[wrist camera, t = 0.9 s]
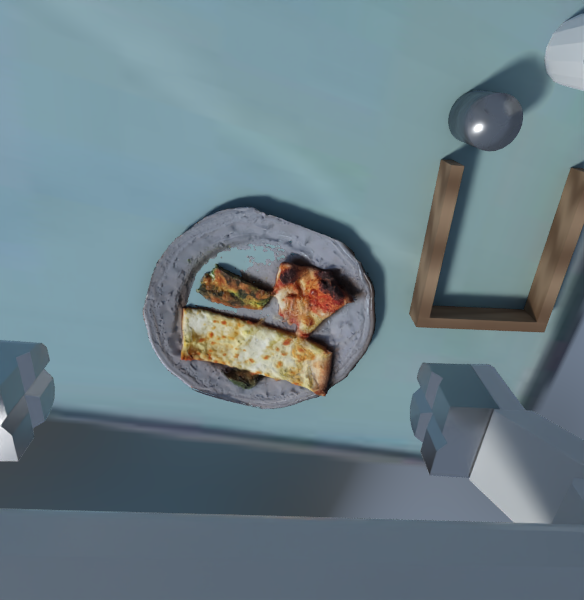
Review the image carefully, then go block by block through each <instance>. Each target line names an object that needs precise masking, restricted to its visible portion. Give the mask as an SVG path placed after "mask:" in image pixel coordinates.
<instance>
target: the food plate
mask: <svg viewBox="0 0 584 600" xmlns="http://www.w3.org/2000/svg"><path fill="white" fill-rule="evenodd" d="M256 210H258V209H256V208H253V207H237V208H234V209H233V208H230V209H226V210H221V211H218V212H216V213H214V214H212V215H209V216H206V217H205V218H203V220H201V221H199V222H197V223H196V224H194V226H193V227H192V228H191V229H189V231H186V232H185V233H184V234H182V235H180V236H179V237H177V238H175V240H174V242H172V243H171V244H170V245H169V246H168V248H167V250H166V251H165V252H164V253H163V256H162V257H161V258H160V259H159V260H158V262H157V263H156V264H157V265H156V268H155V269H154V270H153V271H154V273H153V274H152V277H151V281H150V285H149V288H148V292H147V296H146V300H145V304H144V308H143V315H144V321H145V323H146V326H147V327H146V328H147V330H148V336H149V337H148V338H149V339H150V340H149V341H150V342H151V344H152V347H153V349H154V351H155V353H156V354H157V357H158V358H159V359H160V361H161V363H162V364H163V365H164V366H165V367H166V368H167V369H168V371H170V372H171V374H174V375H175V376H176V377H178V378H179V379H180V380H182V381H183V382H184V383H185V384H186V385H188V386H189V387H192V388H194V389H198V390H199V391H197V390H195V391H197V392H200V391H202V392H200V393H202V394H205V393H207V394H205V395H209V394H211V395H209V396H212V395H214V396H212V397H215V398H219V399H223V400H226V401H231V402H234V403H239V404H243V403H244V404H243V405H247V406H249V405H250V406H251V405H253V406H252V407H256V406H258V407H260V408H261V409H267V408H268V409H274V408H282V407H287V406H291V405H294V404H297V403H299V402H302V401H304V400H308V399H312V398H317V397H319V396H320V395H322V396H325V395H326V394H327V392H328V390H329V388H331V387H332V386H334V385H335V384H336V383H338V382H340V381H342V380H343V379H345V378H346V377H347V376H348V374H349V372H350V371H352V370H353V369H354V367H355V366H356V364H357V363H358V362H359V360H360V359H361V358H362V357H363V355H364V354H365V352H366V350H367V348H368V346H369V344H370V342H371V340H372V336H373V334H374V331H375V321H376V318H375V316H376V315H375V302H374V297H375V290H374V287H373V284H372V281H371V279H370V277H369V276H368V275H365V273H366V272H365V270H364V269H363V266H362V264H361V262H359V261H357V259H356V258H355V254H354V252H353V251H352V250H351V249H349V247H347V246H346V245H345V244H343V243H342V242H341V241H339V240H338V239H336V240H335V239H332V238H331V237H329V236H326V235H324V234H321V233H318V232H315V231H313V230H311V229H308V228H305V227H303V226H300V225H298V224H294V223H291V222H288V221H286V220H284V219H282V218H280V217H275V216H272V215H266V214H265V213H264V212H262V211H261V212H259V211H260V210H258V211H256ZM337 240H338V241H337ZM289 241H292V243H290V242H289ZM248 244H252V245H255V246H263V247H264V248H269V249H270V250H272V251H274V256H275V260H274V261H273V262H271V261H270V259H266V263H267V264H266V265H264V264H263V263H256V262H252V263H254V265H253V266H252V267H249V268H247V269H248V270H247V271H245V272H244V271H243V270H240V272H241V274H242V277H240V276H239V275H236V274H234V273H232V272H230V271H228V270H225V269H224V268H222V267H219V265H218V264H215V268H213V269H212V271H211V272H210V273H205V274H204V276H203V277H202V279H201V284H202V285H200V288H199V289H196V292H197V293H200V294H202V295H203V296H204V297H205V299H207V300H209V301H211V302H216V303H218V304H219V303H222V304H223V305H225V306H230V307H232V308H237V313H235V312H234V311H228V310H220V311H219V309H217V310H216V309H215V308H212V307H211V308H207V307H197V305H195V306H196V307H197V308H194V307H193V308H192V307H190V306H189V307H186V304H187V302H188V297H189V294H190V291H191V288H192V285H193V282H194V280H195V276H196V273H197V272H198V271H199V270H200V269H201V268H202V266H203V265H204V264H207V263H208V260H209V259H210V258H213V259H214V258H215V257H216V256H217V254H218V253H219V252H222V251H227V250H228V251H230V250H231V249H230V248H234V247H237V249H240V250H242V249H244V250H246V249H250V248H251V247H250V246H248ZM266 244H270V245H274V246H275V248H273V249H272V248H271V247H270V246H268V247H267V246H265V245H266ZM276 245H279V246H280V247H278V246H277V247H276ZM255 246H253V247H254V250H256V249H255ZM278 249H284V250H285V251H284V252H283V251H278ZM263 251H264V252H265V251H267V250H266V249H263ZM276 252H277V253H279V255H277V253H276ZM291 253H295V254H298V255H294V256H293V255H291ZM281 255H284V256H285V259H284V258H281V259H280V260H279V261H278V260H277V257H280V256H281ZM248 257H249V256H247V258H248ZM221 258H222V257H221ZM249 259H250V260H249V262H250V263H251V259H254V258H253V257H252V256H251V257H249ZM269 263H271V265H270V266H268V264H269ZM235 269H236V268H235ZM256 270H258V271H256ZM367 274H368V273H367ZM253 282H255V283H253ZM260 282H261V283H260ZM261 310H262V312H261ZM260 313H262V314H260ZM267 315H269V316H267ZM180 334H181V335H180ZM203 392H204V393H203ZM256 408H257V407H256Z"/></svg>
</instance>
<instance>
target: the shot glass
mask: <svg viewBox="0 0 584 600" xmlns="http://www.w3.org/2000/svg"><path fill="white" fill-rule="evenodd" d="M544 61H545V65H546V70H547V73H548V75H549V76H550V77H551V78H552V80H553V81H554V82H556V83H559V84H561V85H563V86H567V87H571V88H575V89H579V90H583V91H584V13H583V14H580V15H577V16H575V17H573V18H571V19H569V20H567V21H565V22H564V23H563V24H562V25H561V26H560V27H559V28H558V29H557V30H556V31H555V32H554V33H553V35H552V37H551V39H550V41H549V43H548V45H547V48H546V54H545V60H544Z"/></svg>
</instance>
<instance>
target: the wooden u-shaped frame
mask: <svg viewBox="0 0 584 600" xmlns="http://www.w3.org/2000/svg"><path fill="white" fill-rule="evenodd" d="M463 170H464V166H463V165H461V164H459V163H458V162H456V161H454V160H442V159H441V162H440V167H439V172H438V177H437V182H436V187H435V191H434V196H433V201H432V206H431V211H430V216H429V220H428V225H427V230H426V235H425V240H424V245H423V250H422V254H421V259H420V264H419V269H418V274H417V279H416V283H415V288H414V293H413V298H412V303H411V308H410V313H409V314H410V316H411V318H412V320H413V322H414V324H415V325H416V327H427V328H451V329H475V330H499V331H524V332H544V331H545V329H546V326H547V323H548V320H549V318H550V315H551V312H552V310H553V307H554V304H555V301H556V299H557V296H558V293H559V290H560V288H561V285H562V282H563V279H564V277H565V274H566V271H567V268H568V266H569V263H570V260H571V257H572V255H573V252H574V249H575V246H576V244H577V241H578V238H579V235H580V233H581V230H582V227H583V225H584V169H583V168H571V169H570V172H569V175H568V178H567V181H566V184H565V187H564V190H563V193H562V196H561V199H560V202H559V205H558V208H557V211H556V214H555V217H554V220H553V223H552V226H551V229H550V232H549V235H548V238H547V241H546V244H545V247H544V250H543V253H542V256H541V259H540V262H539V265H538V268H537V271H536V274H535V277H534V280H533V283H532V286H531V289H530V292H529V295H528V298H527V301H526V304H525V307H524V310H523V309H500V308H477V307H455V306H432V305H433V300H434V296H435V292H436V287H437V283H438V279H439V274H440V270H441V266H442V261H443V257H444V252H445V248H446V244H447V239H448V235H449V231H450V226H451V222H452V218H453V213H454V209H455V205H456V200H457V196H458V192H459V187H460V183H461V179H462V174H463Z"/></svg>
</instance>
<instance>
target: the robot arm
mask: <svg viewBox="0 0 584 600" xmlns="http://www.w3.org/2000/svg"><path fill="white" fill-rule="evenodd" d="M49 361H50V359H49V355H48V350H47V347H46V346H45V345H43V344H42V343H34V342H20V341H6V340H0V461H19V459H20V458H21V456H22V455H23V453H24V452H25V450H26V449H27V447H28V446H29V444H30V443H31V441H32V440H33V438H34V433H33V428H34V427H36V426H37V425H39V424H41V423H42V422H44V421H45V420H46V418H47V416H48V415H49V413H50V412H51V408H52V405H53V401H54V395H55V386H54V380H53V377H52V376H51V375H50V374H49V373H48V372H47V371H46V370H45V369H44V368H45V367H46V365H47V364H48V362H49ZM417 380H418V382H419V384H420V388H419V389H418V390H417V391H416V392H415V393H414V394H413V396H412V400H411V405H410V421H411V426H412V430H413V433H414V435H415V437H417V438H418V439H419V440H420V441H422V442H423V444H422V448H421V454H422V456H423V459H424V462H425V464H426V467H427V469H428V472H429V474H430V475H434V476H450V477H466V478H470V479H469V480H470V481H471V482H472V483H473V484H474V485H475V486H476V487H478V488H479V489H480V490H481V491H482V492H483V493H484V494H485V495H486V496H487V497H488V498H489V499H490V500H491V501H492V502H493V503H494V504H495V505H496V506H497V507H498V508H499V509H500V510H502V511H503V512H504V513H505V514H506V515H507V516H508V517H509V518H510V519H511V520H512V521H513V522H514V523H510V522H467V521H466V522H465V521H431V520H398V519H396V520H394V519H363V518H328V517H327V518H326V517H292V516H291V517H290V516H257V515H218V514H217V515H216V514H178V513H142V512H103V511H69V510H34V509H0V600H584V440H582V439H581V438H579V437H577V436H575V435H574V434H572V433H570V432H568V431H567V430H565V429H563V428H562V427H560V426H558V425H556V424H555V423H553V422H551V421H549V420H548V419H546V418H544V417H542V416H541V415H539V414H537V413H536V412H534V411H526V410H525V409H524V407H523V406H522V405H521V403H520V402H519V401H518V399H517V398H516V397H515V395H514V394H513V392H512V391H511V390H510V388H509V387H508V386H507V384H506V383H505V382H504V380H503V379H502V378H501V376H500V375H499V374H498V372H497V371H496V369H495V368H494V367H493V366H491V365H489V364H442V363H422V365H421V367H420V368H419V372H418V376H417Z"/></svg>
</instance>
